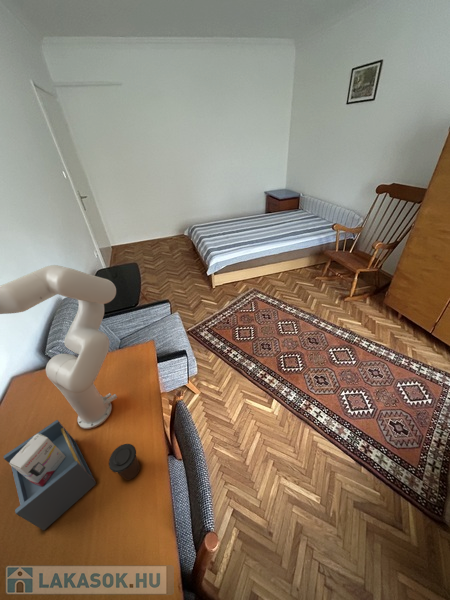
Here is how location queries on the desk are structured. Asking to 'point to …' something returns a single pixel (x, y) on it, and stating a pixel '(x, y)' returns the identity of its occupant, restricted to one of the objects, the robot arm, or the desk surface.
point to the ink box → (38, 460)
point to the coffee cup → (124, 461)
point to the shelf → (53, 481)
